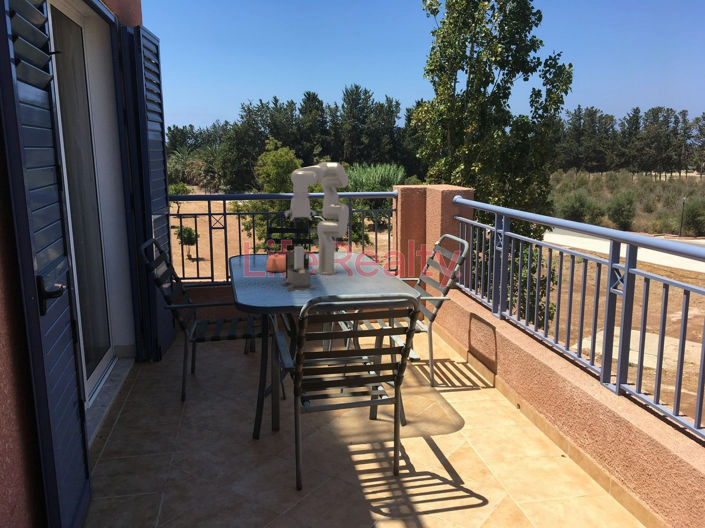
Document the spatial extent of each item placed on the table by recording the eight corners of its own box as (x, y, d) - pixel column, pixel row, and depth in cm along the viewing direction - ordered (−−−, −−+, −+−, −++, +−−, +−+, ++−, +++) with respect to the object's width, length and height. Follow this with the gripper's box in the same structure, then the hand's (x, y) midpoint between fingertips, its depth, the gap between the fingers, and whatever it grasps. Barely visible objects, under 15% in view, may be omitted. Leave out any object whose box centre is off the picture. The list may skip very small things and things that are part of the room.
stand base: (280, 284, 310) (280, 265, 308) (308, 282, 316) (308, 264, 314) (288, 291, 296) (288, 272, 294) (317, 289, 302) (317, 270, 300)
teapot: (288, 268, 351) (288, 251, 349) (282, 274, 333) (282, 257, 331) (270, 267, 352) (270, 251, 350) (263, 273, 334) (263, 256, 332)
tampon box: (297, 281, 319) (298, 255, 316) (285, 278, 324) (285, 253, 321) (309, 277, 328) (309, 252, 325) (296, 275, 333) (296, 250, 330)
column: (294, 275, 306) (294, 246, 303) (301, 275, 307) (301, 246, 304) (296, 277, 302) (296, 248, 298) (303, 277, 303) (304, 247, 300)
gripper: (314, 194, 303) (313, 226, 307) (282, 195, 297) (282, 227, 300) (318, 196, 296) (318, 228, 300) (286, 196, 290) (286, 229, 294)
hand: (300, 227), depth 300 cm, fingers open, 9 cm apart
